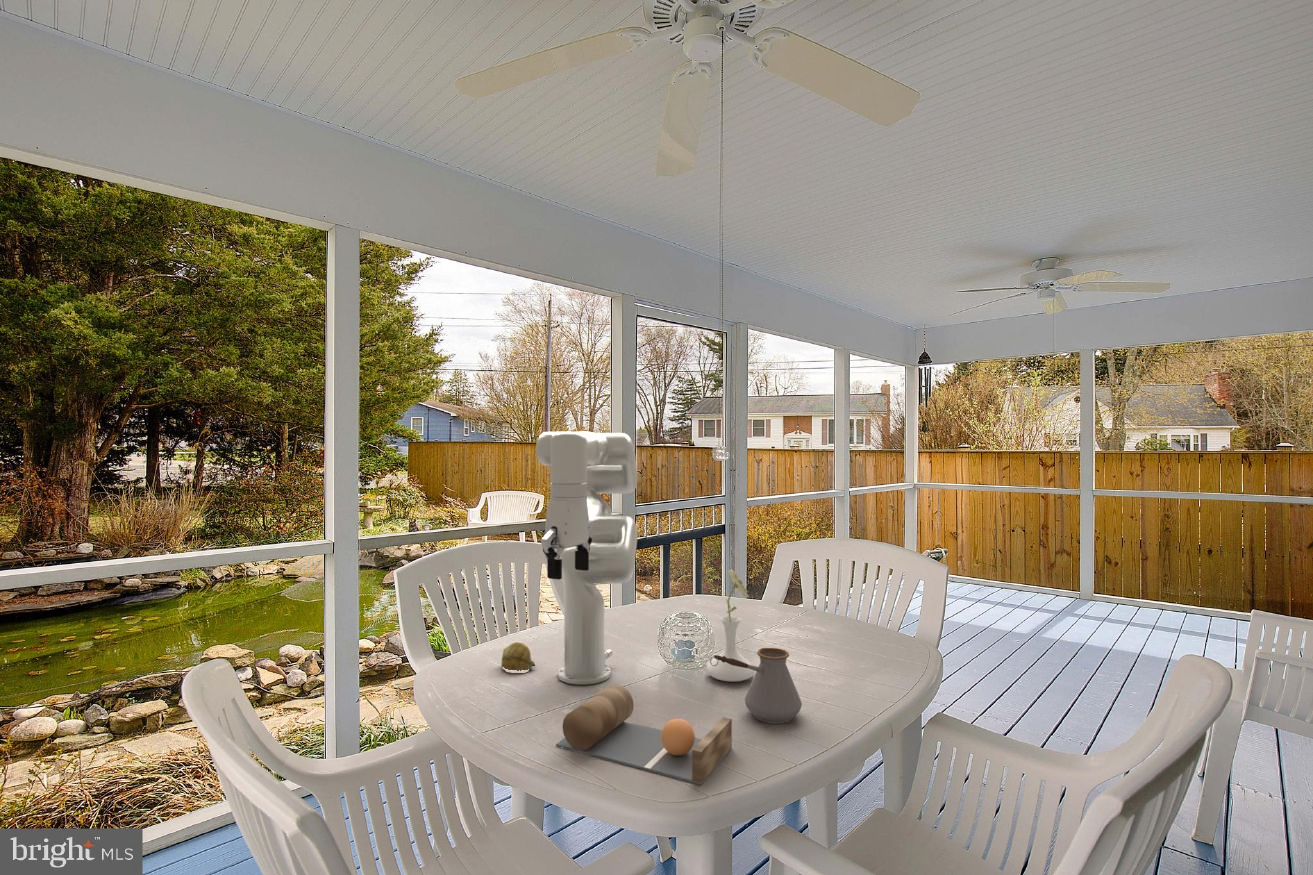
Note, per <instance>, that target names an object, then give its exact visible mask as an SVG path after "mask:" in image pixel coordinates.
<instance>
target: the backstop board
mask: <svg viewBox="0 0 1313 875" xmlns="http://www.w3.org/2000/svg"><path fill="white" fill-rule="evenodd" d="M732 729H733V719H732V718H728V717H724V716H723V717H722V718H721V719H720V720H719V721H718V722H717V723H716V724H715V725H714V726H713V728H712V729H711V730H709V732H708V733H707V734H706V735H704V737H703V738H702V740H701V741H700V742H699V743H698V744H697V745H696V746H695V748H694V749H693V750H692V780H693V781H697V782H702V781H703V780H704V779H705V778H706V776H707V775H708V774H709V773H710V772H711V770H712V769H713V768H714V767H715V766H716V764H717V763H718V762H719V761H720V760H721V759H722V757H723V756H724V755H725V754H726V753H727V751H728V750H729V749H730V748H731V747H732V748H733V746H732V743H733V742H732V740H733V738H732V737H733V735H732V734H733V733H732V732H733V730H732Z"/></svg>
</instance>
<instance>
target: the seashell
mask: <svg viewBox="0 0 1313 875" xmlns="http://www.w3.org/2000/svg"><path fill="white" fill-rule="evenodd" d="M502 650H503V652H502V657H501V667H502V666H503V667H504V668H505V669H508V670H517V671H519V670H520V671H521V670H528V669H530V670H531V669H532V667H535V666H536V663H535V661H533V660H532V658H531V657H532V656H531V651H530V648H529V647H528V646H527V645H525V644H524V643H523V642H513V643H511V644H509V645H508V646H506V647H505V648H504V649H502Z"/></svg>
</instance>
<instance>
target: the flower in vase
mask: <svg viewBox="0 0 1313 875" xmlns="http://www.w3.org/2000/svg"><path fill="white" fill-rule="evenodd" d="M728 574H729V577H730V579H731V581H732V582H733V587H732V588H731V590H730V593H729V595H728V598H727V599H726V600H725V601H726V604H727V611H726V613H728V615H727V616H725V615H724V616H722V617H720V618H719V621H721V623H722V625H723V627H724V632H725V647H724V649H723V651H722V652H721V653H720V654H719V656H721V657H723V656H725V657H726V658H733V659H736V660H738V661H741V662H744V663H747V664H749V665H753V664H752V663H751V662H750V661H749V660H748V659H747V658H746V657H744V656H743V655H741V653H740V652H739V651H738V649H737V647H736V635H737V629H738V626H739V624H740V623H741V622H742V618H741V617H738V616H734V615H731V612H734V611H735V610H736V609H738V608H737V607H736V606H733V607H731V605H730V599H731V596H732V594H733V591H734V590H735V588H736V589H737V591H738V592H739V593H740V595H741V596H742V597H744V598H745V599H747V598H749V597H750V595H748V590H747V589H746V587H745V586H744V584H743V583H744V582H743V580H742V579H741V578H739V576H738V574H737V572H736V571H734V570H733V569H732V568H731V569H730V570H728ZM717 661H718V664H717ZM711 663H712V665H716V664H717V665H716V666H712V665H711ZM711 663H710V662H709V663H708V664H707V667H706V672H707V673H708V675H709V676H710V677H712V678H713V679H716V680H718V681H719V680H720V681H722V682H723V681H724V682H731V683H733V682H742V681H746V680H749V679H751V678H752V677H754V676H755V674H756V671H754V670H751V669H748V668H743V667H738V666H733V665H730V664H728V663H726V662H724V663H723V662H722V661H721V660H717V659H715V658H714V659H713V658H712V659H711Z"/></svg>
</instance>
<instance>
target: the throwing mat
mask: <svg viewBox="0 0 1313 875" xmlns="http://www.w3.org/2000/svg"><path fill="white" fill-rule="evenodd" d="M661 733H662V729H659V728H655V727H650V726H646V725H641V724H637V723H633V722H629V721H624V722H622V723H621V724H620V725H619V726H617V727H616V728H615V729H613V730H612V731H611V732H609V733H608V734H607V735H606V736H604V737H603V738H602V739H600V740H599V741H598V742H596V743H595V744H594V745H593V746H591V747H590V748H589V749H587V750H583V751H582V750H577V749H575V748H573V747H572V746H571V745H570V744H569V743H568V742H567V740H566V738H565V737H564V738H562V739H561V740H559V741H558V742H557V743H555V746H556V747H557V746H558V747H557V748H561V747H563V748H562V749H564V748H565V750H568V749H569V751H573V752H576V753H581V754H583V755H584V754H585V755H587V756H590V757H591V756H592V757H595V758H598V759H603V760H607V761H611V762H614V763H617V764H621V765H625V766H629V767H632V768H636V769H641V770H643V771H646V772H651V773H655V774H659V775H662V776H666V777H669V778H673V779H677V780H681V781H685V782H687V783H693V784H696V785H699V786H702V785H703V784H704V782H706V780H707V779H708V778H709V776H710V775H711V774H712V773H713V772H714V770H715V769H716V768H717V767H718V765H719V764H720V763H721V762H722V761H723V760H724V759H725V757H726V756H728V754H729V753H730V751H731V750H732V749H733V746H732V747H731V748H730V749H729V750H728V751H727V753H726V754H725V755H724V756H723V757H722V759H721V760H720V761H719V762H718V763H717V764H716V766H715V767H714V768H713V769H712V770H711V772H710V773H709V774H708V775H707V776H706V778H705V779H704V780H703V781H702V782H697V781H693V780H692V750H693V749H694V748H695V746H696V745H697V744H698V743H699V742H700V741H701V740H702V739H703V738H702V739H701V738H696V737H695V740H694V744H693V747H692V748H691V750H690V751H689V752H688V753H686V754H684V755H680V756H676V755H672V754H670V753H669V752H667V751H666V749H665V748H664V746H663V744H662V741H661Z"/></svg>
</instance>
